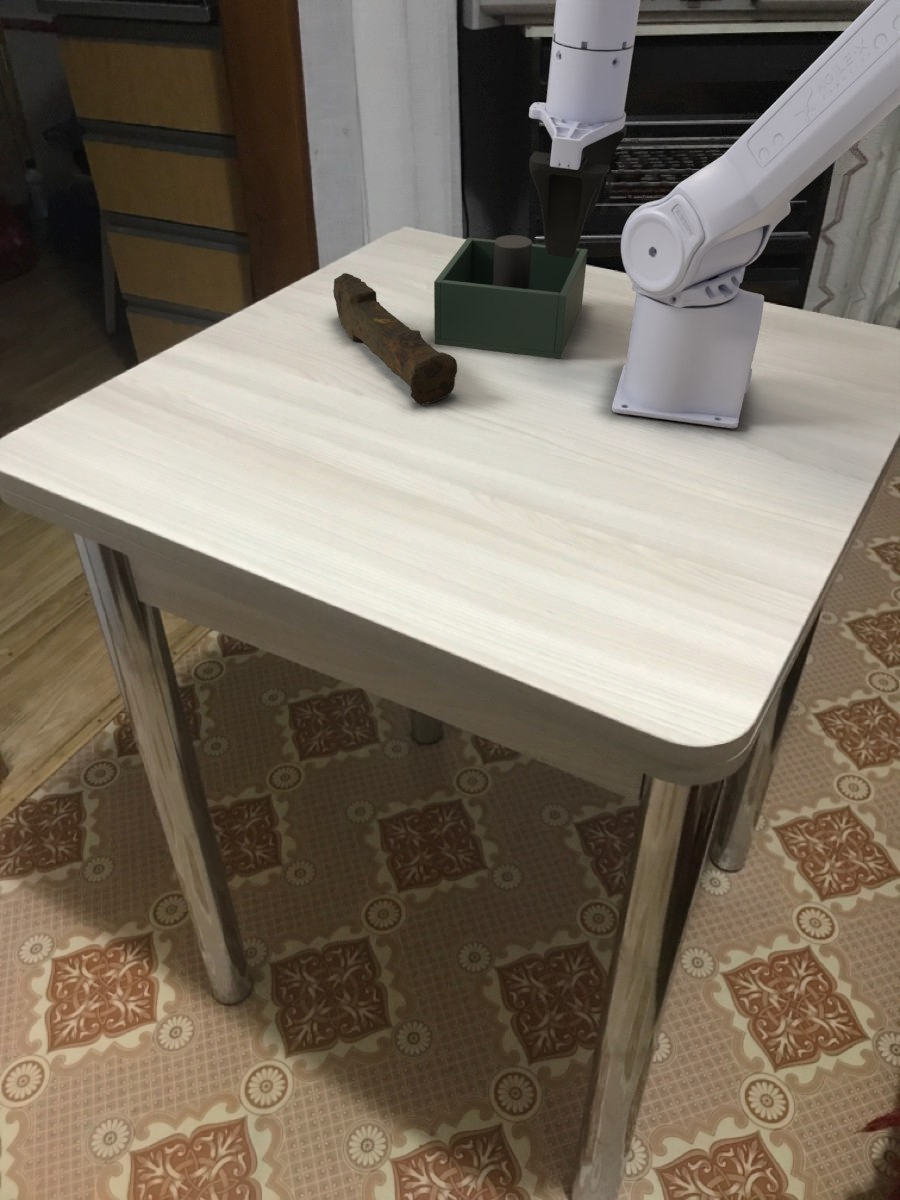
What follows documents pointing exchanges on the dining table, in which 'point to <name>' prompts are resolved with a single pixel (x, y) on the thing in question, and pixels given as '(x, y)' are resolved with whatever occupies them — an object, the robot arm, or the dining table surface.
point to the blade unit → (512, 261)
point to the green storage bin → (508, 302)
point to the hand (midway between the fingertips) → (568, 237)
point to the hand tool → (393, 341)
